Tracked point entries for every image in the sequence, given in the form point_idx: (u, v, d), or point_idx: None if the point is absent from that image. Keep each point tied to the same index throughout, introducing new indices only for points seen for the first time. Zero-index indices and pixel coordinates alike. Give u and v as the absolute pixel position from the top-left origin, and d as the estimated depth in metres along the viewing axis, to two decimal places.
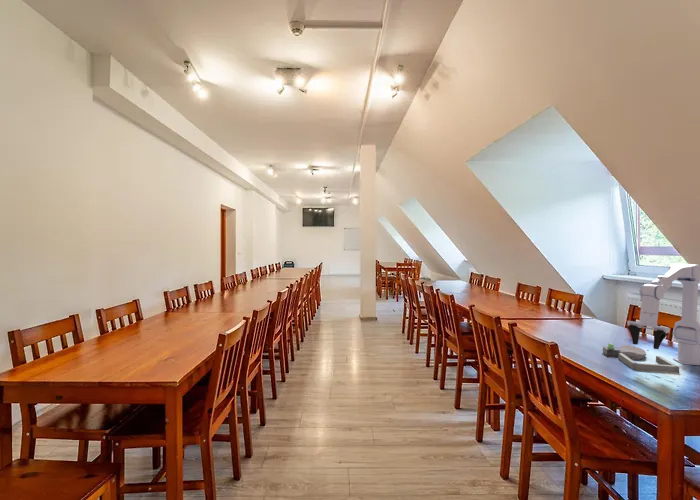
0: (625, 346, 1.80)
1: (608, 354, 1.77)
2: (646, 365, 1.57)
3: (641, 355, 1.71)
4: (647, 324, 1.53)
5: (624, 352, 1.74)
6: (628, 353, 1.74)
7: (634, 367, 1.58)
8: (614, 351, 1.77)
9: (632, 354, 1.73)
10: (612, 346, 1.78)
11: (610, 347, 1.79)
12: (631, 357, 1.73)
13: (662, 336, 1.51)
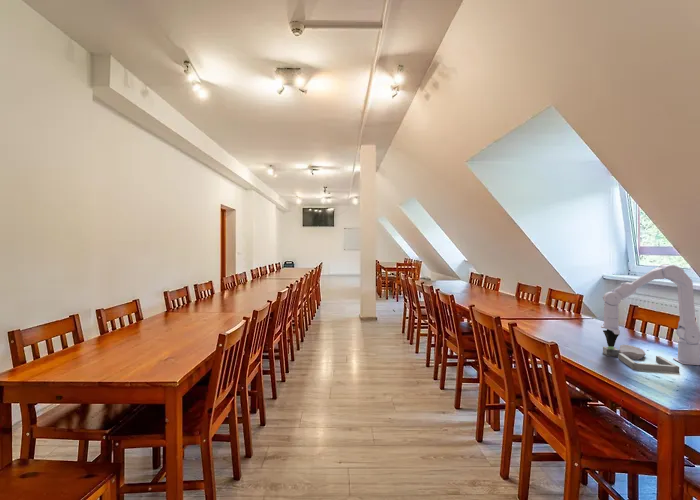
0: (624, 346, 1.81)
1: (608, 354, 1.77)
2: (646, 365, 1.57)
3: (641, 355, 1.71)
4: (605, 327, 1.79)
5: (624, 352, 1.75)
6: (628, 353, 1.74)
7: (634, 367, 1.58)
8: (614, 351, 1.77)
9: (632, 354, 1.73)
10: (612, 348, 1.78)
11: None
12: (631, 357, 1.73)
13: (615, 335, 1.77)
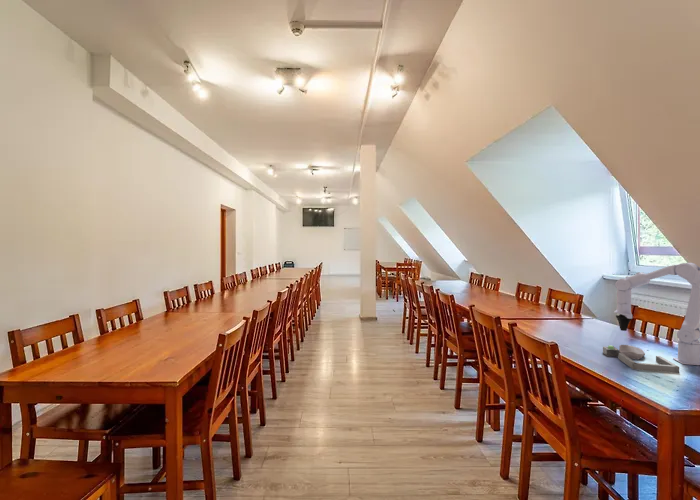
0: (624, 346, 1.81)
1: (608, 354, 1.77)
2: (646, 365, 1.57)
3: (641, 355, 1.72)
4: (618, 312, 1.87)
5: (624, 352, 1.75)
6: (628, 353, 1.74)
7: (634, 367, 1.58)
8: (614, 351, 1.77)
9: (632, 354, 1.73)
10: (612, 348, 1.78)
11: None
12: (631, 357, 1.73)
13: (627, 320, 1.85)
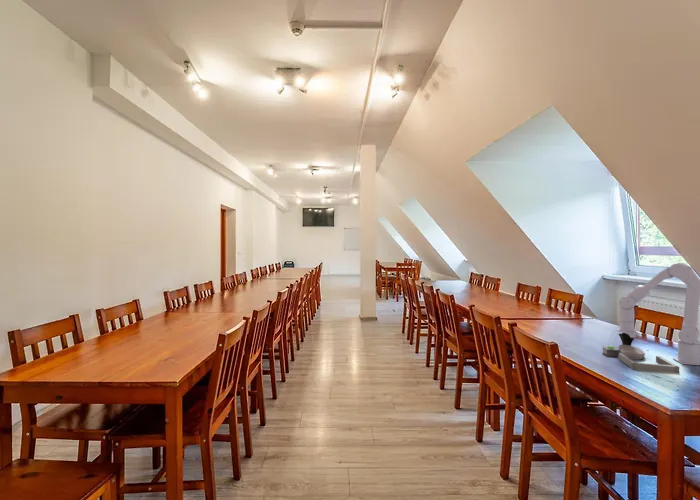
0: (623, 346, 1.80)
1: (608, 354, 1.77)
2: (646, 365, 1.57)
3: (642, 355, 1.71)
4: (621, 330, 1.83)
5: (626, 352, 1.73)
6: (630, 353, 1.73)
7: (634, 367, 1.58)
8: (614, 351, 1.77)
9: (634, 354, 1.72)
10: (612, 348, 1.78)
11: None
12: (633, 357, 1.72)
13: (630, 338, 1.82)
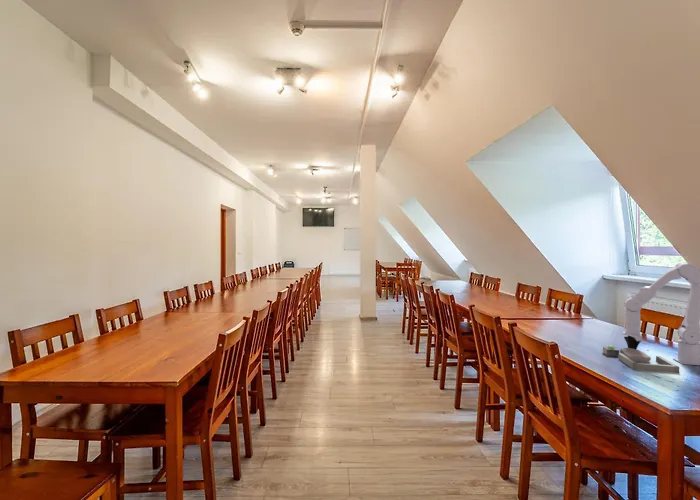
0: (627, 349, 1.74)
1: (608, 354, 1.77)
2: (646, 365, 1.57)
3: (649, 358, 1.66)
4: (626, 333, 1.77)
5: (632, 356, 1.67)
6: (637, 357, 1.67)
7: (634, 367, 1.58)
8: (614, 351, 1.77)
9: (640, 358, 1.66)
10: (612, 348, 1.78)
11: None
12: (639, 361, 1.66)
13: (636, 342, 1.76)
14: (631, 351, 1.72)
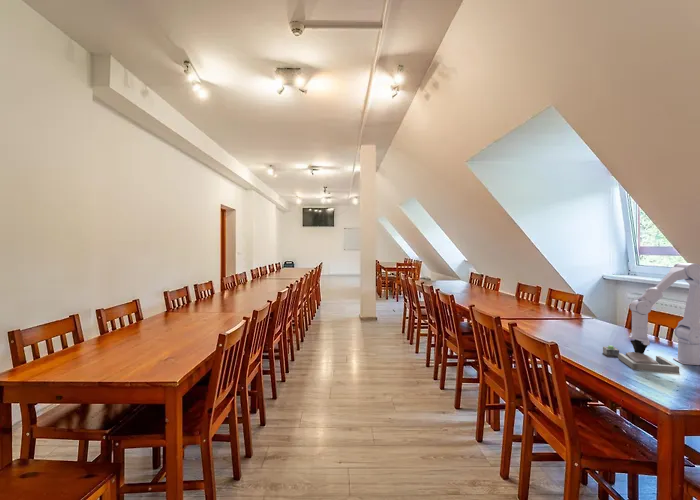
0: (632, 353, 1.68)
1: (608, 354, 1.77)
2: (646, 365, 1.57)
3: (656, 363, 1.59)
4: (633, 337, 1.70)
5: (639, 361, 1.61)
6: (644, 362, 1.60)
7: (634, 367, 1.58)
8: (614, 351, 1.77)
9: (648, 363, 1.60)
10: (612, 348, 1.78)
11: None
12: None
13: (643, 346, 1.69)
14: (637, 355, 1.66)
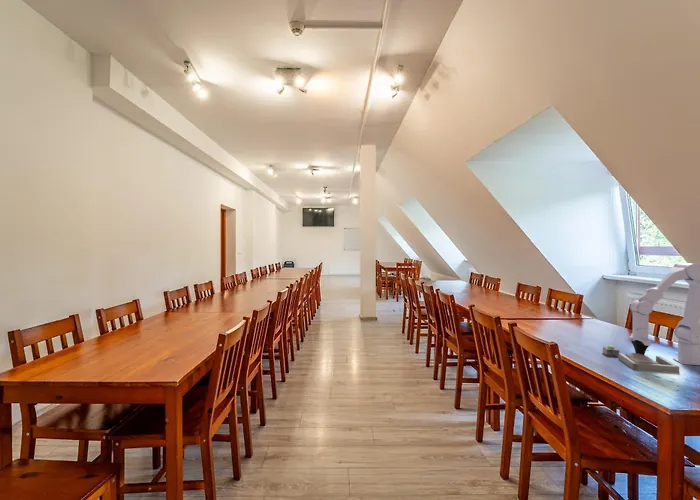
0: (633, 354, 1.67)
1: (608, 354, 1.77)
2: (646, 365, 1.57)
3: None
4: (634, 337, 1.69)
5: (640, 362, 1.60)
6: None
7: (634, 367, 1.58)
8: (614, 351, 1.77)
9: None
10: (612, 348, 1.78)
11: None
12: None
13: (644, 346, 1.68)
14: (637, 356, 1.65)
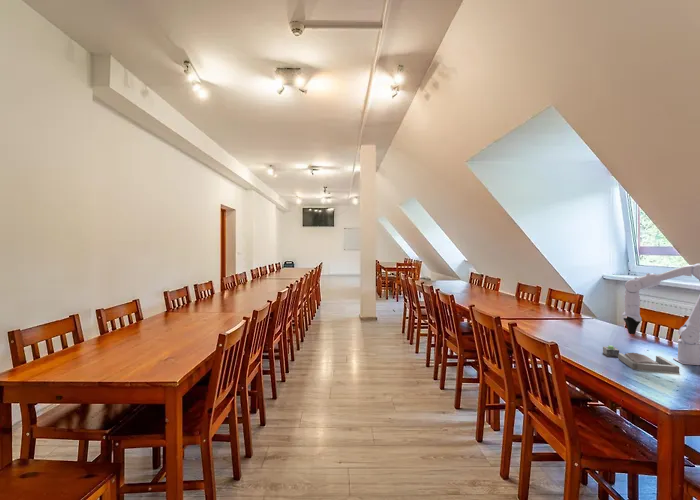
0: (632, 354, 1.67)
1: (608, 354, 1.77)
2: (646, 365, 1.57)
3: None
4: (626, 314, 1.79)
5: (640, 362, 1.60)
6: None
7: (634, 367, 1.58)
8: (614, 351, 1.77)
9: None
10: (612, 348, 1.78)
11: None
12: None
13: (636, 323, 1.77)
14: (637, 356, 1.65)
